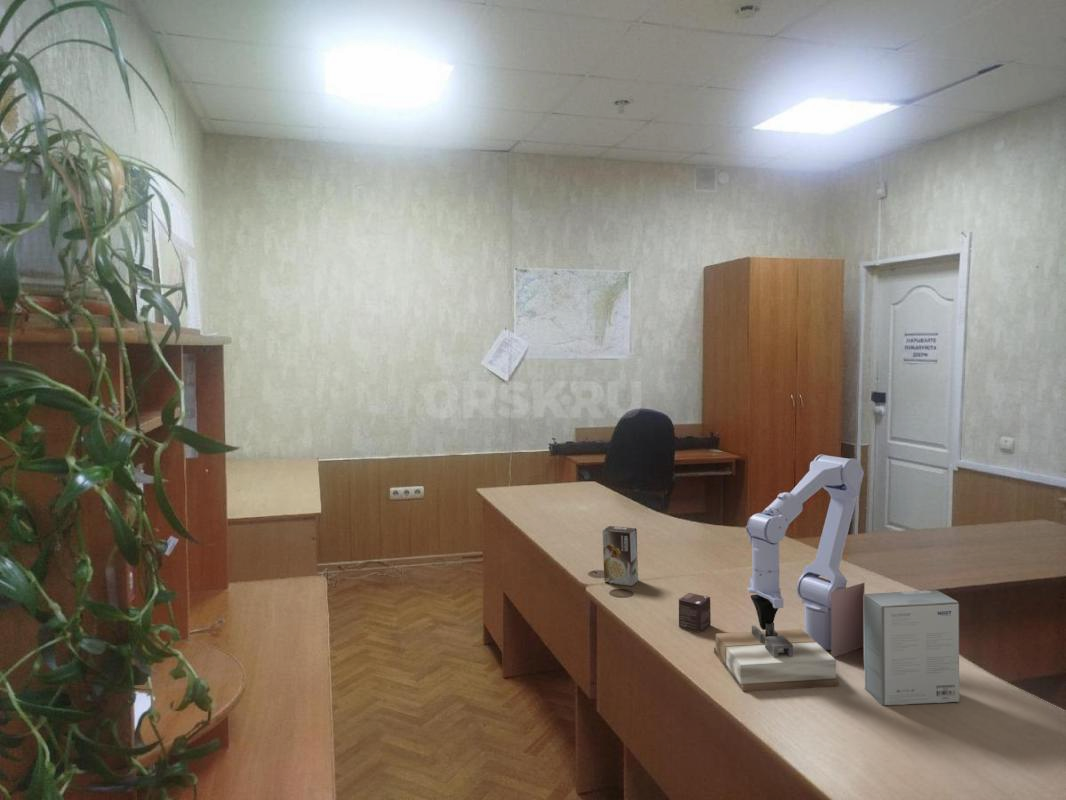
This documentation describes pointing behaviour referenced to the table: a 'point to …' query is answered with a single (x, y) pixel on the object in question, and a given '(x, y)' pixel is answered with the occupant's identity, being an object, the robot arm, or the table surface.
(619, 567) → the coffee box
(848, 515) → the robot arm
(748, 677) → the wooden board with latch
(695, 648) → the table surface
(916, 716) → the table surface
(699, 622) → the box
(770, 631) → the bolt
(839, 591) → the greeting card
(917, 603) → the hard drive box
